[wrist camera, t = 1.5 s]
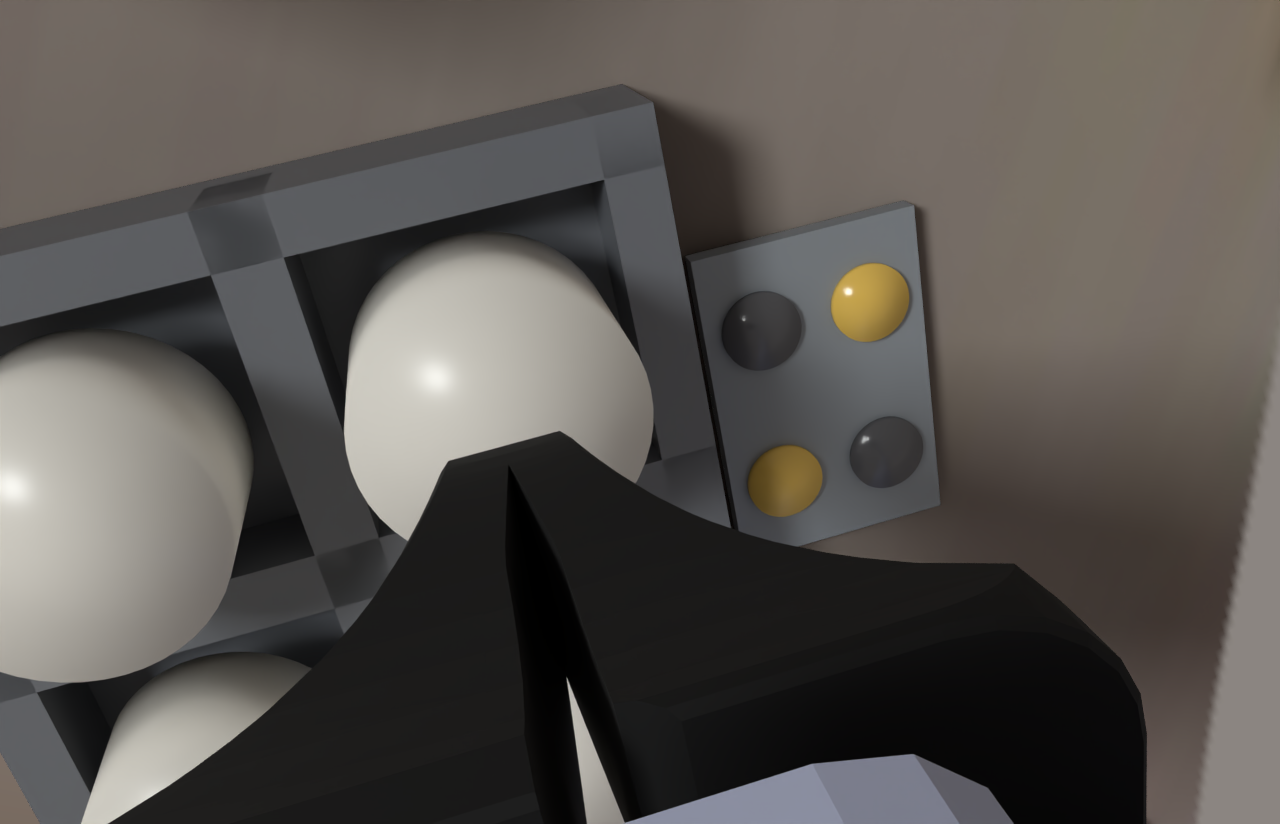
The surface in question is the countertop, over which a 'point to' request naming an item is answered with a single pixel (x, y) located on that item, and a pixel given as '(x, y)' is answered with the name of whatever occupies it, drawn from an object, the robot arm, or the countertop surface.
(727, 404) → the tile
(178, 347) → the tray
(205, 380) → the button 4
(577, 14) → the countertop surface
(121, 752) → the cream round ball
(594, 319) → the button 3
